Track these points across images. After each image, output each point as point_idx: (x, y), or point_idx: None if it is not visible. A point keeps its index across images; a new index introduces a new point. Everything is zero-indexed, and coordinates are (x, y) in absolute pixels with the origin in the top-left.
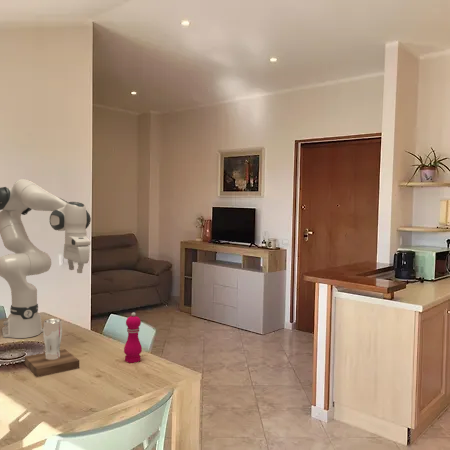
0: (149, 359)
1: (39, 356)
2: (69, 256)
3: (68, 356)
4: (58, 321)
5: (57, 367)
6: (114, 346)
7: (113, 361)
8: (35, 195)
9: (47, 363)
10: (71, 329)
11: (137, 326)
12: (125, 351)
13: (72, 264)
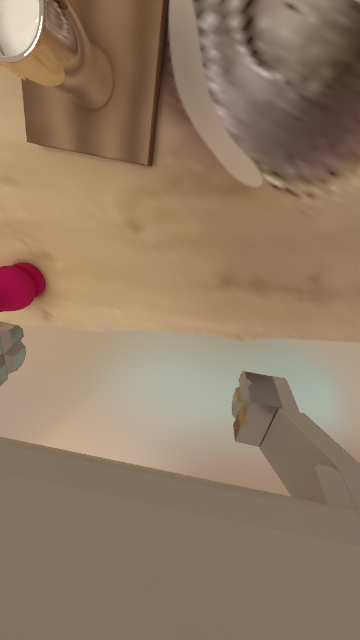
0: None
1: (130, 42)
2: (196, 597)
3: (76, 134)
4: (31, 62)
5: None
6: (137, 308)
7: (42, 243)
8: None
9: None
10: (348, 316)
11: None
12: (5, 267)
13: (274, 456)
